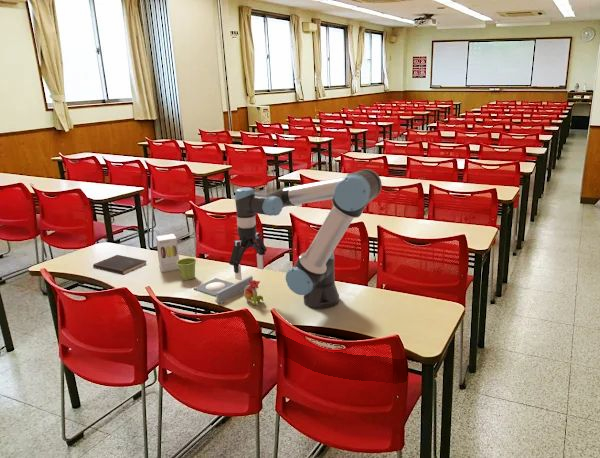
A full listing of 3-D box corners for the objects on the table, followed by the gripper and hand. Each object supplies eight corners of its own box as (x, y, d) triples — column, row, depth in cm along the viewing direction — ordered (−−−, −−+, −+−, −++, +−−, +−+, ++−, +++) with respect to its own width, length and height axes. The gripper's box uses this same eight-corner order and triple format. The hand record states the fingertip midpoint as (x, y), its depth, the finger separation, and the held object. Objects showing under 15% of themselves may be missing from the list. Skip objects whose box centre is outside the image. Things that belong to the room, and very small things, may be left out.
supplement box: (161, 272, 247) (157, 240, 242) (159, 266, 256) (154, 236, 251) (180, 268, 251) (177, 237, 246) (177, 263, 259) (173, 233, 254)
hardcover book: (117, 258, 272) (117, 254, 271) (147, 264, 260) (146, 260, 260) (93, 268, 259) (92, 264, 258) (123, 275, 247) (122, 271, 247)
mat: (236, 285, 228) (236, 284, 228) (214, 296, 217) (214, 294, 217) (215, 279, 236) (215, 277, 236) (193, 289, 226) (193, 288, 225)
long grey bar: (255, 285, 226) (254, 276, 225) (221, 303, 210) (220, 294, 208) (249, 284, 229) (248, 275, 227) (214, 301, 212) (213, 292, 211)
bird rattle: (244, 309, 209) (258, 305, 203) (234, 285, 208) (248, 280, 203) (253, 303, 214) (268, 300, 208) (244, 280, 213) (258, 275, 208)
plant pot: (175, 281, 236) (172, 264, 233) (184, 273, 245) (182, 257, 242) (192, 282, 234) (190, 265, 231) (201, 274, 242) (199, 258, 240)
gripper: (259, 217, 211) (262, 262, 217) (217, 232, 192) (222, 282, 198) (273, 219, 206) (275, 266, 213) (231, 235, 188) (235, 286, 194)
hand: (249, 274), depth 206 cm, fingers open, 13 cm apart
